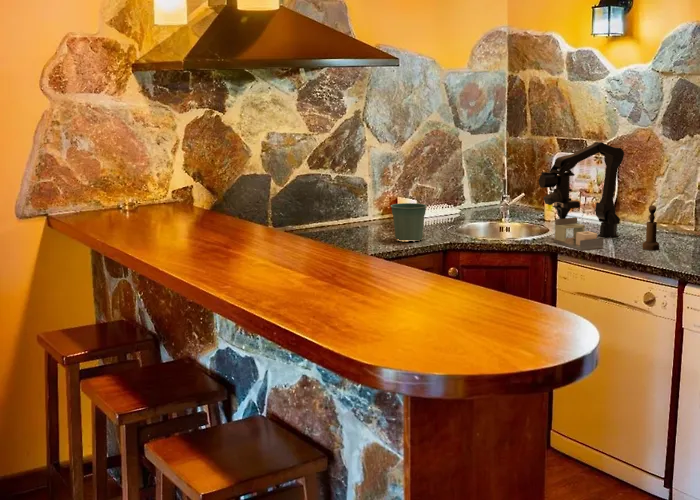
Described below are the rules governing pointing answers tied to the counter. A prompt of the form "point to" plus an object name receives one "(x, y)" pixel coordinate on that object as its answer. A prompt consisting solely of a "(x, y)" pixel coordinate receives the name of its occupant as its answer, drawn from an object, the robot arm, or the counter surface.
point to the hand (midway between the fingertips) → (562, 222)
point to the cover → (567, 224)
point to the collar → (585, 236)
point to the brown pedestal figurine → (651, 232)
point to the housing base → (582, 243)
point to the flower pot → (408, 220)
